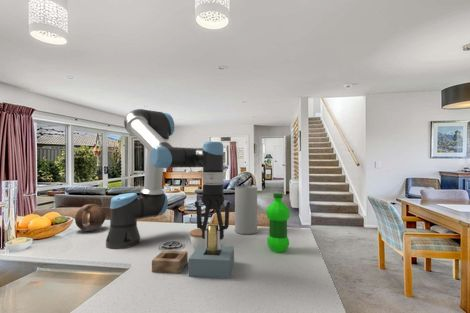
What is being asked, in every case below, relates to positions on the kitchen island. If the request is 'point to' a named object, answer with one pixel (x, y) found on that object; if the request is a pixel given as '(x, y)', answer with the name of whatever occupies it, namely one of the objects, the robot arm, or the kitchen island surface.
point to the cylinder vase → (246, 209)
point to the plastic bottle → (278, 224)
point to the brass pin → (212, 239)
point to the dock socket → (211, 262)
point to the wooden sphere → (90, 217)
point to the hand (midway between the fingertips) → (212, 247)
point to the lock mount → (170, 261)
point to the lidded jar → (196, 238)
